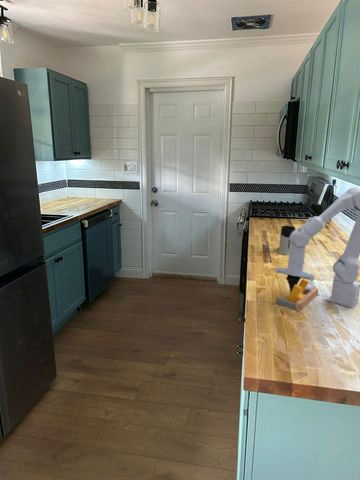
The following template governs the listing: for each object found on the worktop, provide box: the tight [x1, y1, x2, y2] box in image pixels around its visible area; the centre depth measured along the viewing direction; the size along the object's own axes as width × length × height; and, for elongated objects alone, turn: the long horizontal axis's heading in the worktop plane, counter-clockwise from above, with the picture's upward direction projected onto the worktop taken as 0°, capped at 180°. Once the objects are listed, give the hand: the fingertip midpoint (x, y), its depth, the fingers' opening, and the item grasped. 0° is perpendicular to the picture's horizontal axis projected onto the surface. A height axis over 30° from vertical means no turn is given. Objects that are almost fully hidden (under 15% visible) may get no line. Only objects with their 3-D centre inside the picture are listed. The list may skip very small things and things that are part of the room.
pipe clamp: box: [286, 278, 310, 303], centre depth 133 cm, size 12×4×6 cm, turn 145°
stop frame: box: [275, 287, 319, 312], centre depth 134 cm, size 10×19×3 cm, turn 139°
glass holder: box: [277, 225, 296, 256], centre depth 191 cm, size 9×14×15 cm, turn 26°
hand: (292, 293), depth 135 cm, fingers closed
